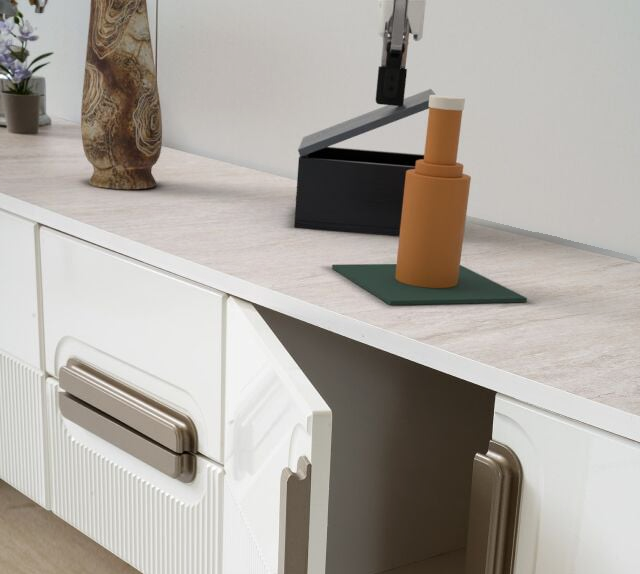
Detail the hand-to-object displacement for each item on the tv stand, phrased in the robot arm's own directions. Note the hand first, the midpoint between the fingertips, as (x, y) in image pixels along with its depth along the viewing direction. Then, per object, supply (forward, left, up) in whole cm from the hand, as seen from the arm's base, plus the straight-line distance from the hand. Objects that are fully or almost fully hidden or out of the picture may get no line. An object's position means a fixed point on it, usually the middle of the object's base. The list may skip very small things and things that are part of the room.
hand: (389, 104), depth 130 cm
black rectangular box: (+2, -1, -14) cm, 14 cm away
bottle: (+8, +29, -13) cm, 33 cm away
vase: (+26, -26, -14) cm, 39 cm away
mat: (+8, +29, -14) cm, 33 cm away
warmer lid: (+2, -1, -2) cm, 3 cm away
